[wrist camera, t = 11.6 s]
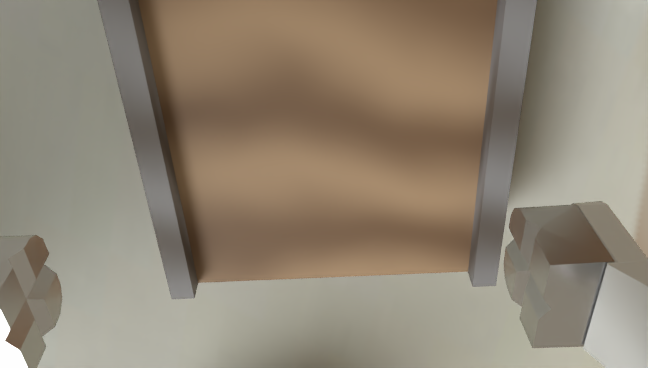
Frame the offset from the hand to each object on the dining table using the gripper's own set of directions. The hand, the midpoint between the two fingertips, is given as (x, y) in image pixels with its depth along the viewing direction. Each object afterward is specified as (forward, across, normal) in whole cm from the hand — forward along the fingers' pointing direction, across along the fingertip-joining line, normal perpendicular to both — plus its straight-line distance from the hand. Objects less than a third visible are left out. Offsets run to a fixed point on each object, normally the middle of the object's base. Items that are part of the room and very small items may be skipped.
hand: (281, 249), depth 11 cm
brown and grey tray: (+21, -1, +7) cm, 22 cm away
